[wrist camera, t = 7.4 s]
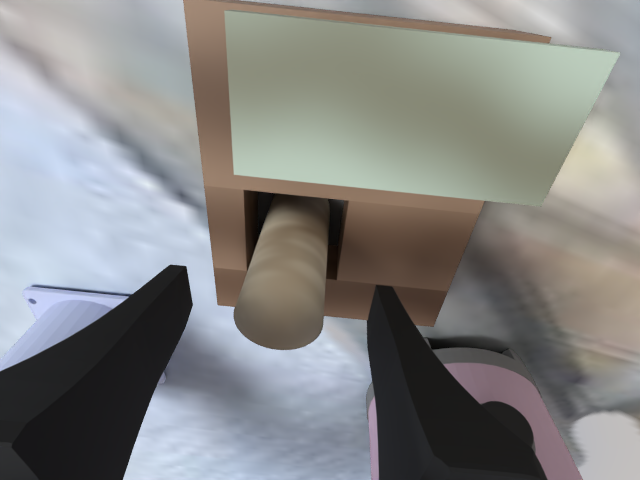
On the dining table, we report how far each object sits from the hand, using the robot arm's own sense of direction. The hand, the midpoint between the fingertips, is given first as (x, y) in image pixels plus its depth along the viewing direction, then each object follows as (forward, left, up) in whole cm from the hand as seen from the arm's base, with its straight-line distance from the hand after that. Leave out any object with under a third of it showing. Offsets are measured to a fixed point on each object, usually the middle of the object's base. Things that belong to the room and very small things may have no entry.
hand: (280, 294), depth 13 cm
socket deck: (+2, -2, -7) cm, 7 cm away
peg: (0, 0, -7) cm, 7 cm away
